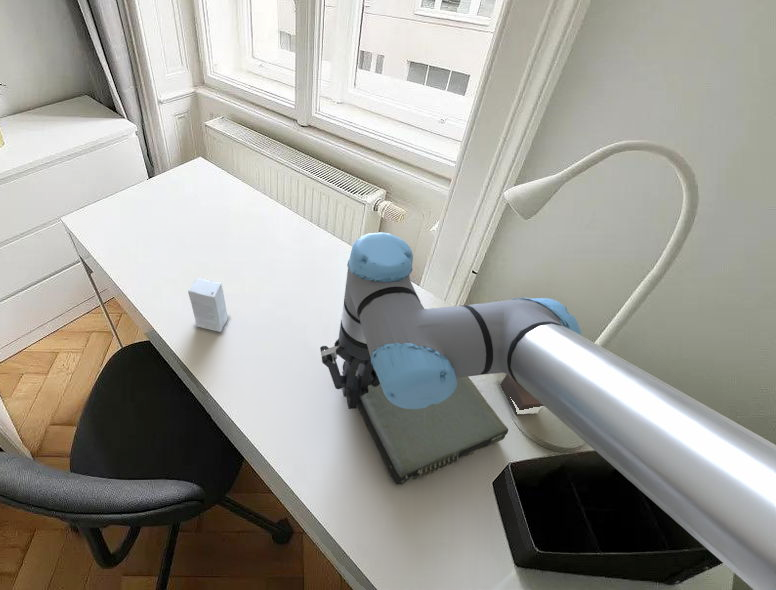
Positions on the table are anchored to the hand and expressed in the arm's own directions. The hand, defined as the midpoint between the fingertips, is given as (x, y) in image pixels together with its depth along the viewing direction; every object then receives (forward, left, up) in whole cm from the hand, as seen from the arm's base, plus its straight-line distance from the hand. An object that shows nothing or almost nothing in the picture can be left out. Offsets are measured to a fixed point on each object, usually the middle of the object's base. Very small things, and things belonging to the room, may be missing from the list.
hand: (351, 401), depth 74 cm
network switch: (0, -12, -3) cm, 12 cm away
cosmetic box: (+21, +27, -3) cm, 34 cm away
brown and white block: (0, -32, -3) cm, 32 cm away
